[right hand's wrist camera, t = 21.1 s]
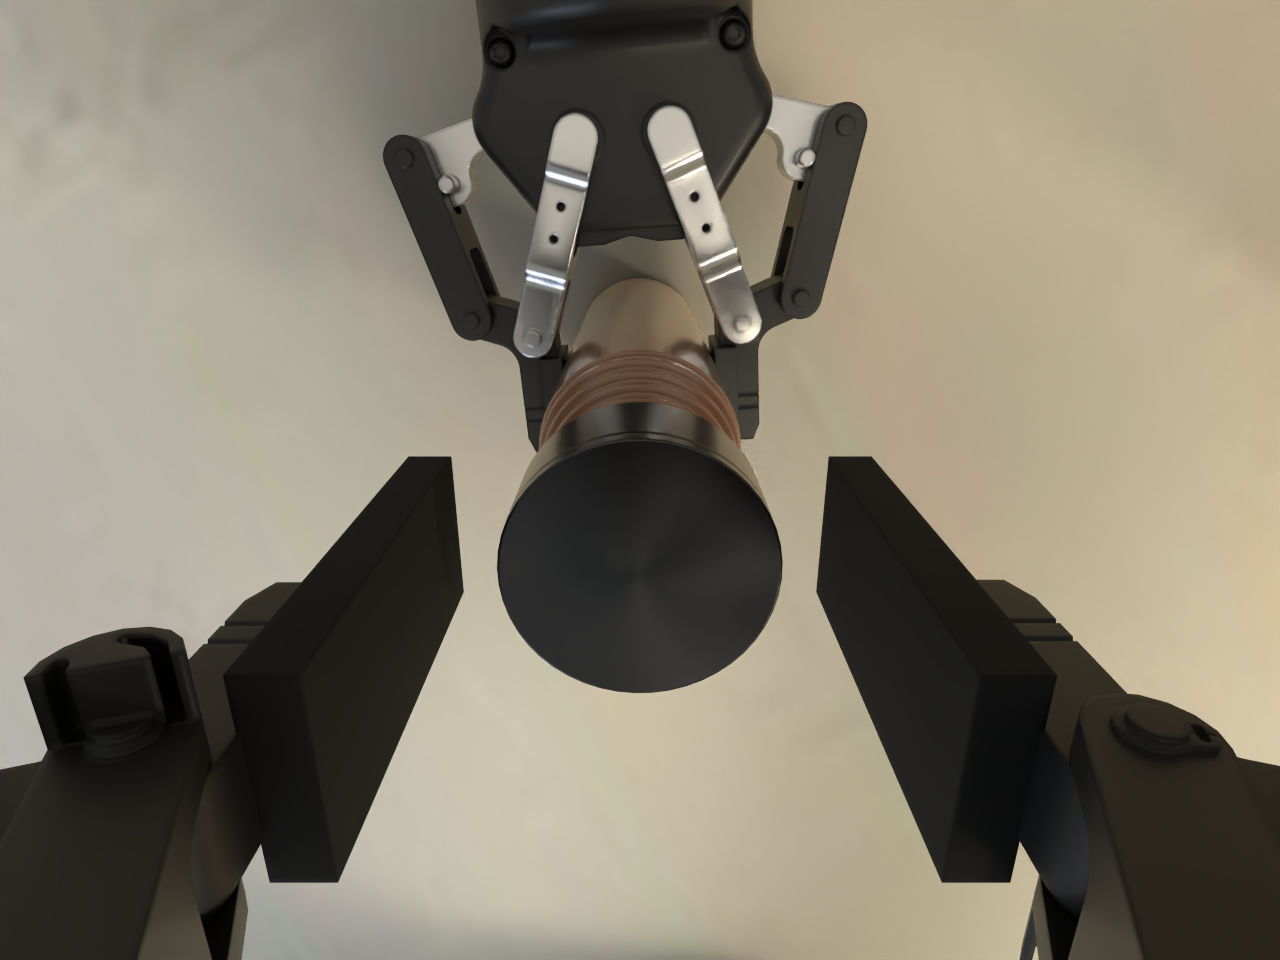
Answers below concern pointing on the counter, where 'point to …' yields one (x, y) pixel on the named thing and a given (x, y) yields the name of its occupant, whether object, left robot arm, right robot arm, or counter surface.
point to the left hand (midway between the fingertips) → (646, 453)
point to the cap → (639, 550)
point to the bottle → (640, 359)
